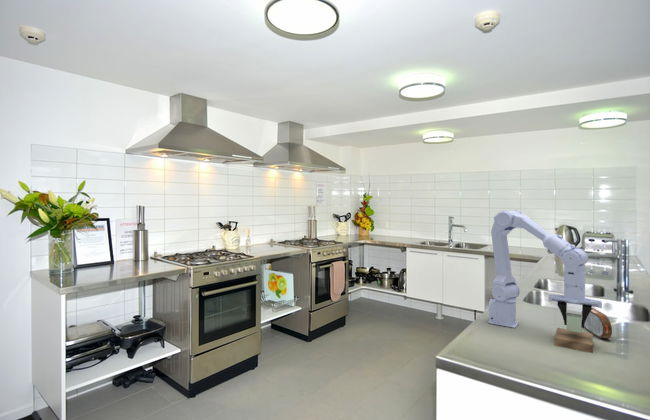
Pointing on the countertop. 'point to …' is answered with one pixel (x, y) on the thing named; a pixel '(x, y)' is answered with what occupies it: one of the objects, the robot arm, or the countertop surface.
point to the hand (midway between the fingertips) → (574, 325)
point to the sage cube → (574, 322)
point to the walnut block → (574, 340)
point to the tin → (598, 324)
